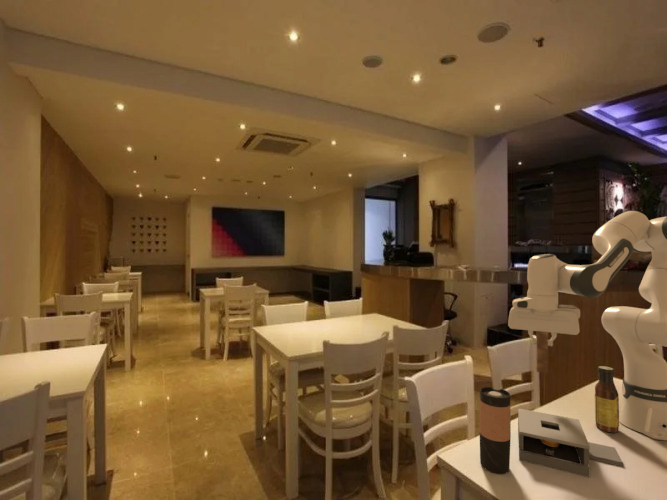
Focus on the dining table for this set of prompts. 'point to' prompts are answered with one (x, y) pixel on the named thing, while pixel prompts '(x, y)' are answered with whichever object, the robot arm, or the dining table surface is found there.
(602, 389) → the sauce bottle
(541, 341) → the brown wooden bar
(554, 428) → the box
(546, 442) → the button
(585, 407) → the dining table surface
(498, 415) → the travel mug
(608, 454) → the pad
